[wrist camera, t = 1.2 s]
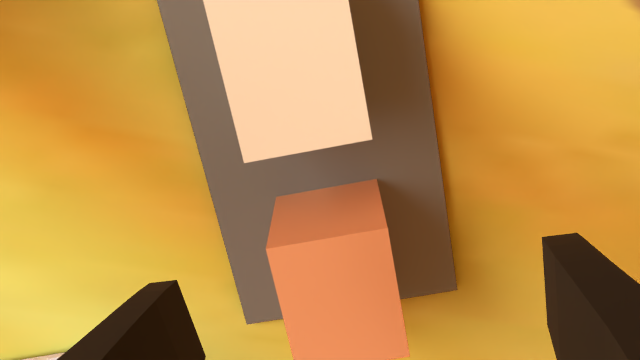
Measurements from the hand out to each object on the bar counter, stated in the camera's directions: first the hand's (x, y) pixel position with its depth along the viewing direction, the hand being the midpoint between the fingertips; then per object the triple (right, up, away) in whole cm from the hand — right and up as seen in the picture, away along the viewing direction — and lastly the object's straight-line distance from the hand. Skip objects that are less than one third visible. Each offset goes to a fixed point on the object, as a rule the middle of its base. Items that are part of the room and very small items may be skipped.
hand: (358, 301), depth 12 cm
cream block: (-2, +7, +10) cm, 12 cm away
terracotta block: (0, 0, +13) cm, 13 cm away
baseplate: (-1, +4, +12) cm, 12 cm away
